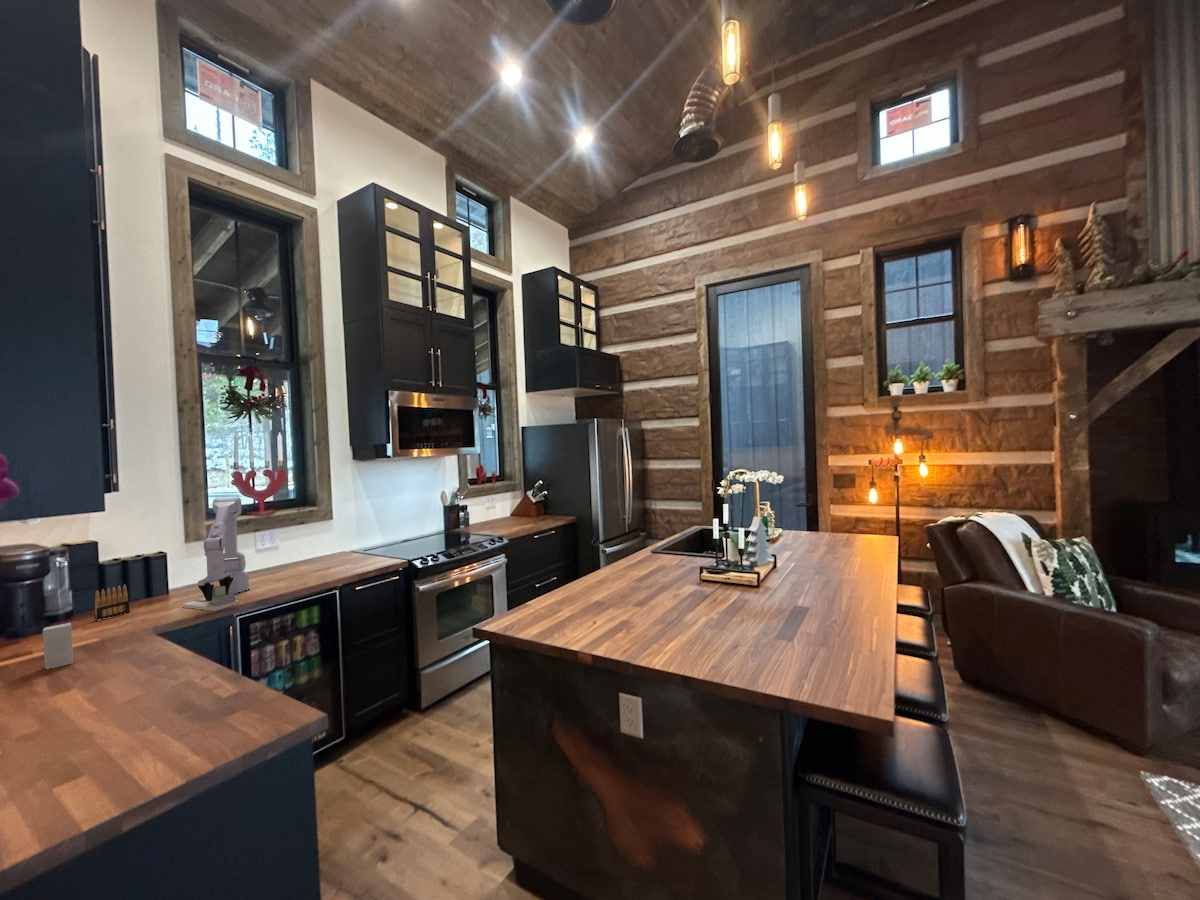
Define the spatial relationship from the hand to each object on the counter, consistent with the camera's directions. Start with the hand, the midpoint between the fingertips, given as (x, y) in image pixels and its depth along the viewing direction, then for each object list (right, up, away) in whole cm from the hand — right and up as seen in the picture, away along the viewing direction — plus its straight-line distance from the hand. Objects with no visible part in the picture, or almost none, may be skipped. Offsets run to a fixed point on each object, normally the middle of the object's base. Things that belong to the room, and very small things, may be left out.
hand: (216, 598), depth 216 cm
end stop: (+4, -2, -2) cm, 5 cm away
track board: (-3, -4, +1) cm, 5 cm away
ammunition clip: (-35, -5, -9) cm, 37 cm away
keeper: (0, -1, 0) cm, 1 cm away
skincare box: (-6, -4, -58) cm, 58 cm away
